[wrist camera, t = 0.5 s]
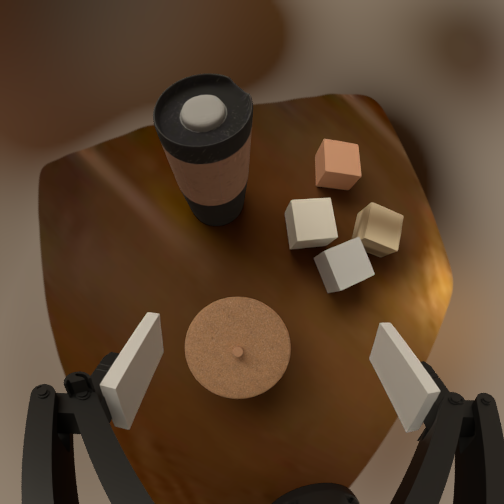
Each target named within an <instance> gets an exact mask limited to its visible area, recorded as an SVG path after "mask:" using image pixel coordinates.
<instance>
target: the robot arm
mask: <svg viewBox="0 0 504 504" xmlns="http://www.w3.org/2000/svg"><path fill="white" fill-rule="evenodd" d="M163 352H164V350H163V342H162V333H161V324H160V314H158V313H149V312H147V314H146V315H145V317H144V318H143V319H142V321H141V322H140V324H139V325H138V327H137V328H136V330H135V331H134V333H133V334H132V336H131V337H130V339H129V340H128V342H127V343H126V345H125V346H124V348H123V349H122V351H121V352H120V354H119V353H113V352H111V353H109V354H108V355H106V356H105V357H104V358H103V359H102V361H101V362H100V364H99V365H98V366H97V368H96V369H95V371H94V372H93V373H92V375H91V376H89V375H88V374H87V373H85V372H74V373H71V374H69V375H68V376H67V377H66V378H65V380H64V386H65V388H66V391H67V393H56V392H55V390H54V388H53V387H52V386H50V385H47V384H42V385H39V386H36V387H35V388H34V389H33V390H32V392H31V396H30V402H29V408H28V414H27V420H26V428H25V437H24V446H23V447H24V448H23V459H22V504H79V500H78V493H77V485H76V476H75V465H74V448H73V434H81V436H82V438H83V441H84V444H85V446H86V449H87V451H88V454H89V457H90V459H91V461H92V464H93V466H94V468H95V471H96V473H97V475H98V477H99V480H100V482H101V484H102V486H103V488H104V490H105V492H106V494H107V496H108V498H109V500H110V502H111V504H154V502H153V501H152V499H151V498H150V496H149V494H148V493H147V491H146V490H145V488H144V487H143V485H142V483H141V482H140V480H139V478H138V477H137V475H136V473H135V472H134V470H133V468H132V467H131V465H130V463H129V461H128V459H127V458H126V456H125V454H124V452H123V450H122V448H121V446H120V444H119V442H118V440H117V438H116V436H115V434H114V432H113V430H112V428H111V426H110V424H109V423H110V421H111V419H112V421H113V423H114V426H117V427H120V428H124V429H128V430H129V429H130V427H131V425H132V422H133V420H134V417H135V415H136V413H137V410H138V408H139V406H140V404H141V401H142V399H143V397H144V394H145V392H146V390H147V388H148V385H149V383H150V381H151V379H152V376H153V374H154V372H155V370H156V367H157V365H158V363H159V361H160V359H161V356H162V354H163ZM369 360H370V362H371V363H372V365H373V367H374V369H375V371H376V373H377V375H378V377H379V379H380V381H381V383H382V385H383V387H384V389H385V390H386V392H387V394H388V396H389V398H390V400H391V402H392V404H393V406H394V409H395V411H396V413H397V415H398V417H399V419H400V421H401V423H402V425H403V427H404V429H405V431H406V432H411V431H416V430H418V429H419V428H420V427H421V425H422V423H423V422H424V424H425V426H426V428H425V429H424V431H423V433H422V434H421V436H420V437H419V439H418V441H419V440H420V441H419V444H418V446H417V449H416V451H415V454H414V456H413V458H412V461H411V463H410V465H409V467H408V469H407V472H406V474H405V476H404V478H403V480H402V482H401V484H400V486H399V488H398V490H397V492H396V494H395V496H394V498H393V500H392V501H391V503H390V504H439V501H440V499H441V496H442V493H443V491H444V488H445V485H446V482H447V479H448V475H449V472H450V469H451V465H452V462H453V459H454V455H455V483H454V499H453V504H504V438H503V433H502V428H501V423H500V419H499V414H498V410H497V406H496V402H495V400H494V398H493V397H492V396H491V395H489V394H487V393H480V394H478V396H477V397H476V399H475V400H471V401H470V400H464V398H463V397H462V396H461V395H460V394H457V393H454V392H449V391H448V389H447V388H446V386H445V385H444V384H443V382H442V381H441V379H440V378H438V375H437V374H436V373H435V371H434V370H433V369H432V367H431V366H430V365H428V364H427V363H426V362H424V361H423V362H420V361H419V360H418V359H417V357H416V356H415V354H414V353H413V352H412V350H411V349H410V348H409V346H408V345H407V344H406V342H405V341H404V340H403V338H402V337H401V336H400V334H399V333H398V332H397V331H396V329H395V328H394V327H393V325H392V324H391V323H380V324H379V327H378V331H377V335H376V338H375V341H374V345H373V348H372V351H371V355H370V358H369ZM272 504H359V501H358V500H357V498H356V497H355V495H354V494H353V493H352V491H351V490H350V489H348V488H347V487H345V486H342V485H339V484H333V483H319V484H312V485H307V486H304V487H300V488H297V489H295V490H292V491H290V492H288V493H286V494H284V495H283V496H281V497H280V498H278V499H277V500H276V501H274V502H273V503H272Z"/></svg>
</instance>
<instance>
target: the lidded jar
mask: <svg viewBox="0 0 504 504" xmlns="http://www.w3.org/2000/svg"><path fill="white" fill-rule="evenodd" d="M290 355H291V342H290V337H289V333H288V330H287V328H286V326H285V324H284V322H283V321H282V319H281V317H280V316H279V315H278V314H277V313H276V312H275V311H274V310H273V309H271V308H270V307H269V306H267V305H266V304H264V303H262V302H260V301H258V300H255V299H252V298H247V297H228V298H224V299H220V300H217V301H215V302H213V303H211V304H209V305H208V306H206V307H205V308H204V309H202V310H201V311H200V312H199V313H198V314H197V316H196V317H195V318H194V319H193V321H192V323H191V324H190V326H189V329H188V331H187V335H186V339H185V356H186V360H187V364H188V366H189V368H190V370H191V372H192V374H193V375H194V377H195V378H196V380H197V381H198V382H199V383H200V384H201V385H202V386H203V387H205V388H206V389H207V390H209V391H211V392H212V393H214V394H216V395H219V396H222V397H226V398H230V399H246V398H251V397H255V396H257V395H260V394H262V393H264V392H266V391H267V390H269V389H270V388H272V387H273V386H274V385H275V384H276V383H277V382H278V381H279V380H280V379H281V377H282V376H283V374H284V373H285V371H286V369H287V366H288V364H289V360H290Z"/></svg>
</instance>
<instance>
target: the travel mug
mask: <svg viewBox="0 0 504 504" xmlns="http://www.w3.org/2000/svg"><path fill="white" fill-rule="evenodd" d="M252 117H253V103H252V98H251V95H250V94H248V93H246V92H244V91H243V90H242V89H241V88H239V87H238V86H237V85H236V84H235V83H234V82H233V81H232V80H231V78H229V77H227V76H224V75H219V74H198V75H193V76H190V77H186V78H184V79H181V80H179V81H177V82H176V83H174V84H172V85H171V86H170V87H168V88H167V89H166V90H165V91H164V92H163V93H162V95H161V96H160V97H159V99H158V100H157V102H156V105H155V108H154V112H153V120H154V125H155V128H156V131H157V134H158V136H159V139H160V141H161V144H162V146H163V149H164V151H165V154H166V156H167V158H168V161H169V163H170V166H171V168H172V171H173V173H174V175H175V178H176V180H177V183H178V185H179V187H180V189H181V191H182V193H183V195H184V197H185V199H186V200H187V202H188V204H189V206H190V208H191V210H192V211H193V213H194V214H195V216H196V217H197V218H198V219H199V220H200V221H201V222H203V223H205V224H207V225H211V226H222V225H225V224H228V223H230V222H232V221H233V220H234V219H236V218H237V216H238V215H239V214H240V212H241V210H242V207H243V204H244V198H245V192H246V186H247V180H248V172H249V157H250V144H251V130H252Z"/></svg>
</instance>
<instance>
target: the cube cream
mask: <svg viewBox="0 0 504 504" xmlns="http://www.w3.org/2000/svg"><path fill="white" fill-rule="evenodd" d="M285 219H286V226H287V233H288V240H289V247H290V250H291V249H301V248H310V247H320V246H327V245H328V244H329V243H331V242H332V241H333V240H335V239H336V238H338V235H337V229H336V224H335V218H334V213H333V208H332V203H331V198H316V199H300V200H291V201H290V203H289V205H288V207H287V209H286V211H285Z"/></svg>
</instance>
